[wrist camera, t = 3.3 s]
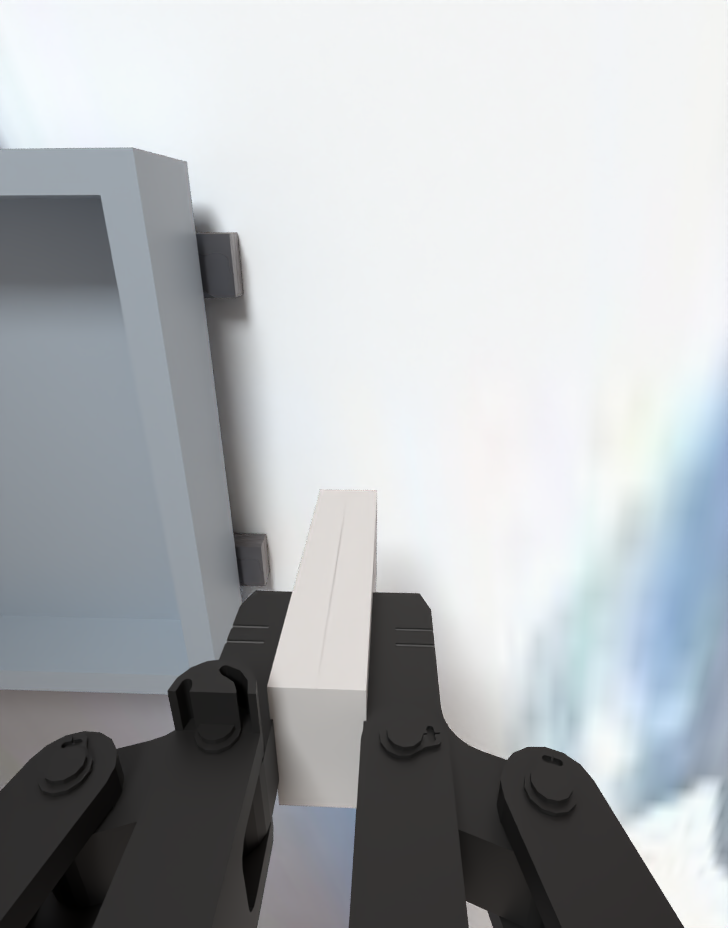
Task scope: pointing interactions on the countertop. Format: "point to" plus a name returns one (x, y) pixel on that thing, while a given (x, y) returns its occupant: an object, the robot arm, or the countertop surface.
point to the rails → (226, 282)
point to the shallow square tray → (107, 428)
